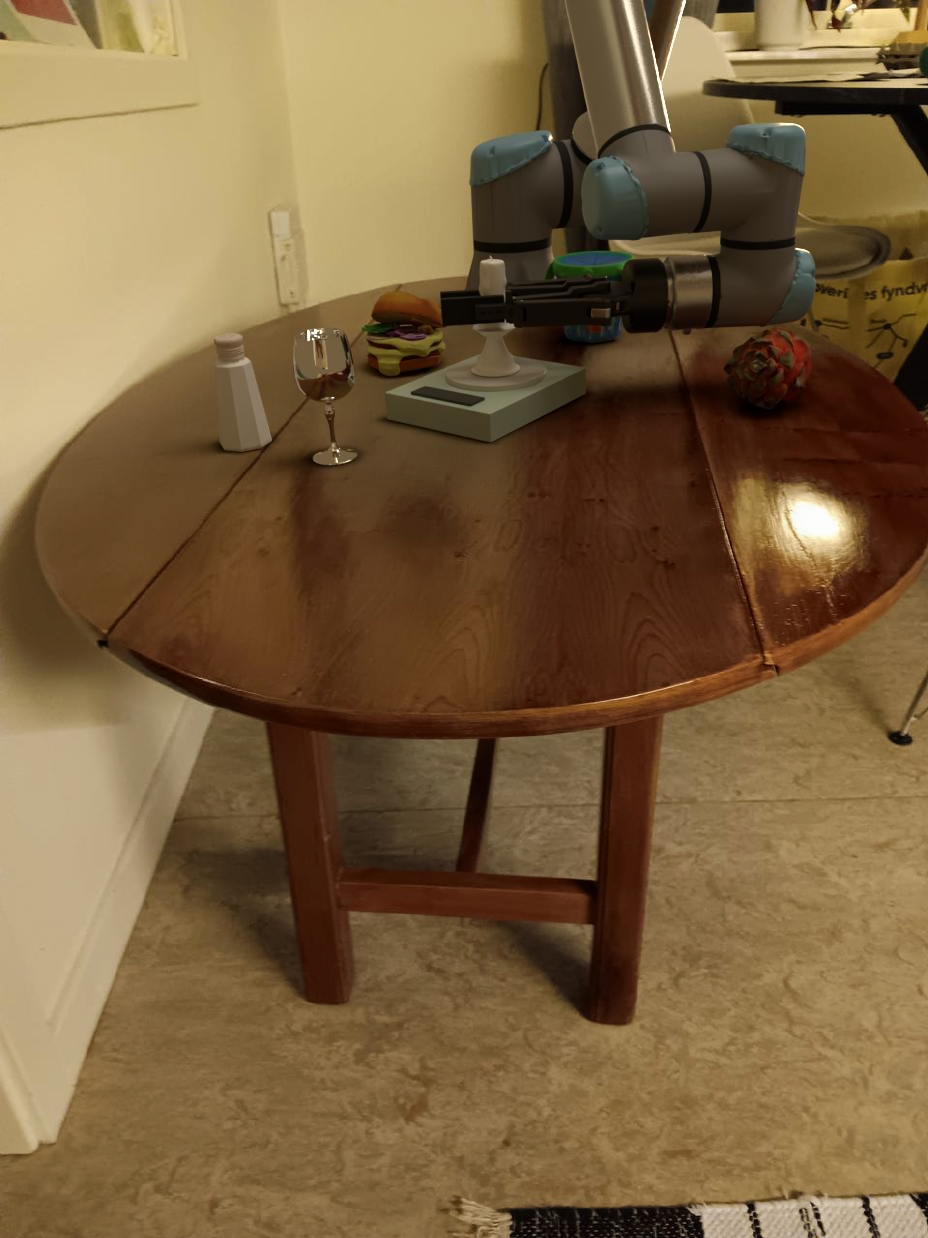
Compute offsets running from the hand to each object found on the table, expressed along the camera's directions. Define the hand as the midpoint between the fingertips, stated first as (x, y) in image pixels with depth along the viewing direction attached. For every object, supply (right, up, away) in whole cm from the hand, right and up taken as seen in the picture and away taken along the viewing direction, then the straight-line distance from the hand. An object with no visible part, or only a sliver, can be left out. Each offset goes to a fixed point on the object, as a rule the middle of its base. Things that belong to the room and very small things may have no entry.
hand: (441, 308), depth 101 cm
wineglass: (-10, -17, -6) cm, 21 cm away
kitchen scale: (+5, -9, +5) cm, 12 cm away
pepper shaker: (-20, -15, -2) cm, 25 cm away
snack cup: (+20, +5, +27) cm, 34 cm away
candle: (+6, -6, +4) cm, 9 cm away
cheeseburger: (-5, -1, +20) cm, 21 cm away
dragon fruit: (+35, -10, +2) cm, 36 cm away
